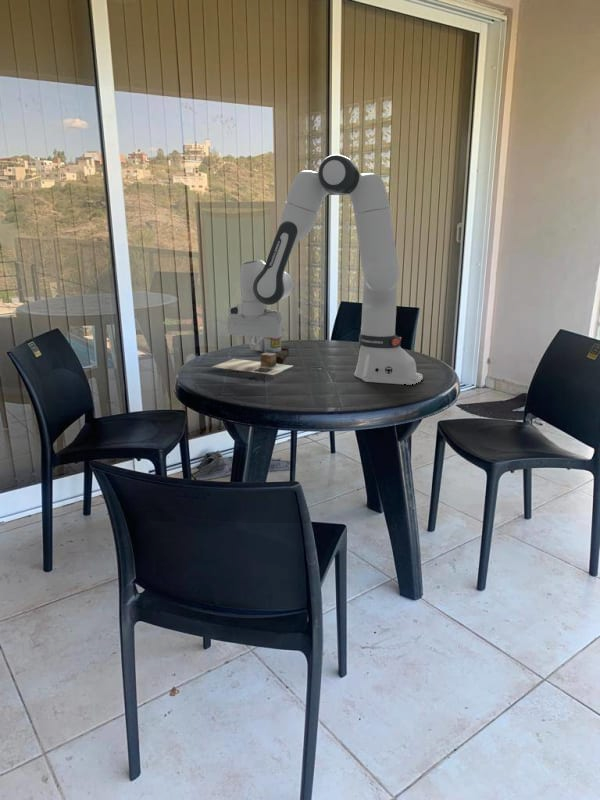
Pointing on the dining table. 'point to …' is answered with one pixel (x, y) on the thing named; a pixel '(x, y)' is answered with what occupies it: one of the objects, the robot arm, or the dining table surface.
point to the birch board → (252, 366)
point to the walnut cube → (268, 359)
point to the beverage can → (271, 344)
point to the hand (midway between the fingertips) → (255, 349)
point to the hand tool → (282, 354)
